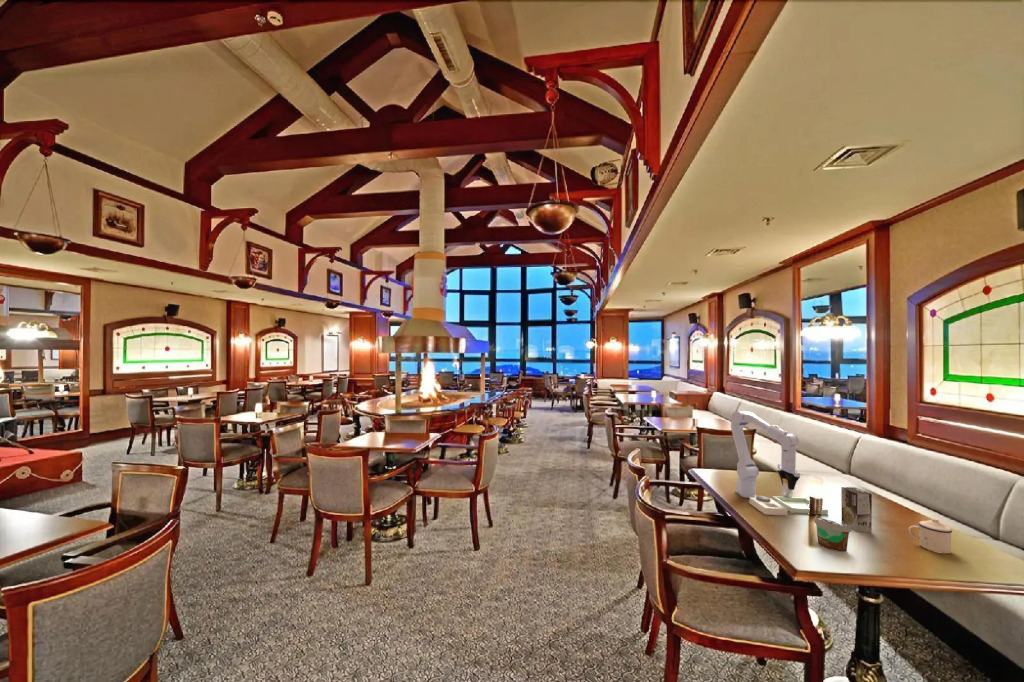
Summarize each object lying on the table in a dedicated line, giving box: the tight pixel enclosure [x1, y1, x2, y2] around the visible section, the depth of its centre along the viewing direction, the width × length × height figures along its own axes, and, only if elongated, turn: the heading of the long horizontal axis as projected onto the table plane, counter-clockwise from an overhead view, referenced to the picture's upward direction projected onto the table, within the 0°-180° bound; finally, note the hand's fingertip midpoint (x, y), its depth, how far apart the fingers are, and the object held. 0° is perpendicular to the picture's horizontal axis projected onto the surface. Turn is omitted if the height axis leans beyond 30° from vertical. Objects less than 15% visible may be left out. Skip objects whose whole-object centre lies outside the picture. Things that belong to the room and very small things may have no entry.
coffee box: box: [840, 486, 873, 533], centre depth 180 cm, size 9×6×16 cm
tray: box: [772, 495, 829, 516], centre depth 201 cm, size 16×16×2 cm
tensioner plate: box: [749, 495, 788, 516], centre depth 198 cm, size 14×10×4 cm
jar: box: [781, 478, 794, 499], centre depth 199 cm, size 5×5×8 cm
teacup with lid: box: [908, 517, 953, 554], centre depth 162 cm, size 12×9×12 cm
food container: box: [813, 515, 852, 553], centre depth 160 cm, size 12×6×10 cm, turn 22°
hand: (788, 487), depth 199 cm, fingers closed on jar, 4 cm apart
